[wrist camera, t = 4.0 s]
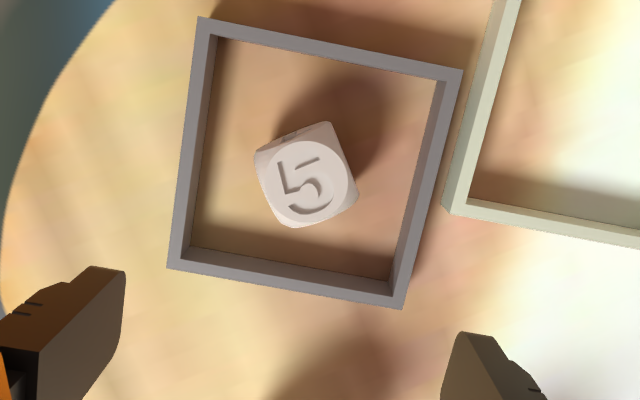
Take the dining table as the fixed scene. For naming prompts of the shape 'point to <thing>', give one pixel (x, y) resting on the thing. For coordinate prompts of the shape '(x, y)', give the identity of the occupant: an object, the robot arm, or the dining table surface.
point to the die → (306, 176)
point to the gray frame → (289, 274)
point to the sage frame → (472, 139)
